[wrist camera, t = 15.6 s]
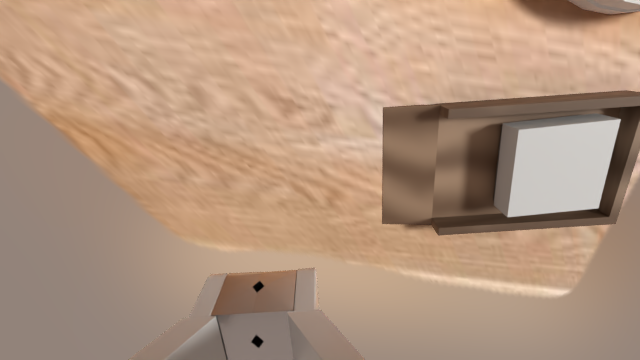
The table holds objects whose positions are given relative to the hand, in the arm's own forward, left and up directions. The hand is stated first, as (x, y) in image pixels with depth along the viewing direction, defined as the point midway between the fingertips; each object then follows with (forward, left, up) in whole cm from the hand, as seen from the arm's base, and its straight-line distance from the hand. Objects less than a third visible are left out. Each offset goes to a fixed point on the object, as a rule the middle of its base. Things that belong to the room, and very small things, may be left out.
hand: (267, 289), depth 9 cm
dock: (+8, +23, -29) cm, 38 cm away
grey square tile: (+7, +27, -28) cm, 40 cm away
